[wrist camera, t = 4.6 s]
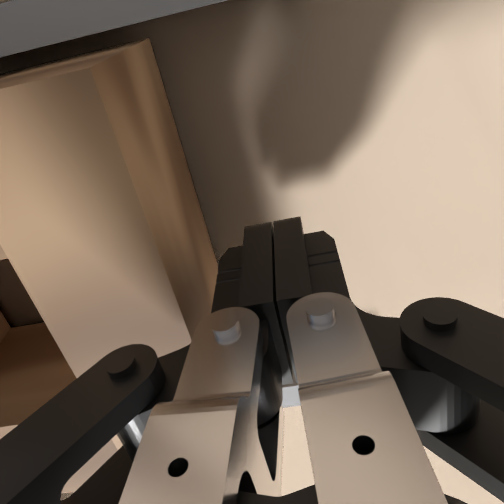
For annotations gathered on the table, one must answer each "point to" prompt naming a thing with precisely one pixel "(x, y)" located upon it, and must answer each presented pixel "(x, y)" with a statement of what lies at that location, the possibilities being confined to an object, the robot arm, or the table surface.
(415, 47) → the table surface
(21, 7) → the backstop
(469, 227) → the table surface
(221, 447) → the robot arm
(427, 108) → the table surface
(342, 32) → the table surface
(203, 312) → the socket block
